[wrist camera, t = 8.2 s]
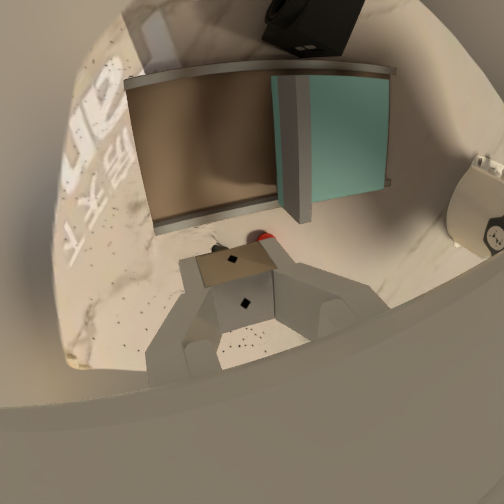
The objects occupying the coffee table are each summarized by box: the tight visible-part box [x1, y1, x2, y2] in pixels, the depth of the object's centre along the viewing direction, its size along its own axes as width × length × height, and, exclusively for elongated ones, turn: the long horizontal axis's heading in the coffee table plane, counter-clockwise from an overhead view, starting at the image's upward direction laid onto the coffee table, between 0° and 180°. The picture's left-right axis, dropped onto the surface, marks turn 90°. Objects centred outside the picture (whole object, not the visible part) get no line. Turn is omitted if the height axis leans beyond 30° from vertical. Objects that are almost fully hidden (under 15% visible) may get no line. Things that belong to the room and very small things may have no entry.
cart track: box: [123, 59, 396, 236], centre depth 26 cm, size 26×14×2 cm, turn 95°
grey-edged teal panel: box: [270, 75, 389, 224], centre depth 24 cm, size 11×11×7 cm
